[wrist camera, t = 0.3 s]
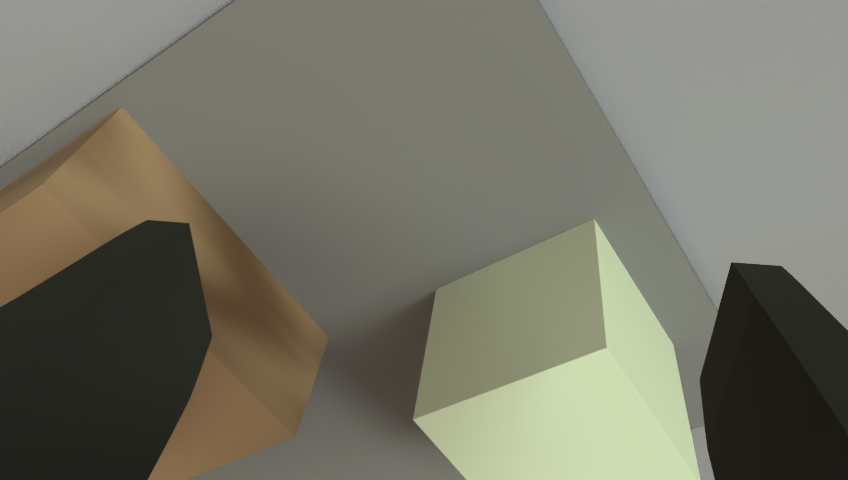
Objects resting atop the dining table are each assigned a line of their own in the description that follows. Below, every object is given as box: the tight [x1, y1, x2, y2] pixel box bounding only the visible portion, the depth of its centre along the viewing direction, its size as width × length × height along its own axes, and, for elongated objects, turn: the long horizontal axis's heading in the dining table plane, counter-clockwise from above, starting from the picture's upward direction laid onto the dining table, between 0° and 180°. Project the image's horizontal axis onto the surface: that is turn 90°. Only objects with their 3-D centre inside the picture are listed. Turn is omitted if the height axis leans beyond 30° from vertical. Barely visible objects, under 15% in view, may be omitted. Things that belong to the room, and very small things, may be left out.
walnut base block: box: [0, 107, 329, 480], centre depth 23 cm, size 9×9×4 cm
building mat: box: [0, 0, 718, 480], centre depth 24 cm, size 18×20×1 cm
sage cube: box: [413, 219, 700, 480], centre depth 21 cm, size 5×5×5 cm
